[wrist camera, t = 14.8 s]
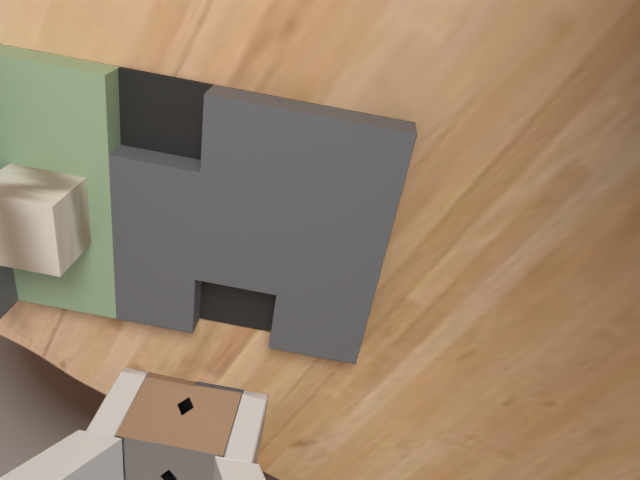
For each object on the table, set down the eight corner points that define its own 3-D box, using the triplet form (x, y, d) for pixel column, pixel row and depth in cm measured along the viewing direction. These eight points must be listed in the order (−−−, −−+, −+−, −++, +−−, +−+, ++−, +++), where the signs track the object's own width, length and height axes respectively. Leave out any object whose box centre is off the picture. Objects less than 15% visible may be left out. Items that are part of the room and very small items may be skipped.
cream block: (86, 177, 41) (52, 206, 37) (91, 242, 45) (60, 276, 40) (10, 163, 42) (-33, 191, 37) (20, 229, 45) (-18, 262, 40)
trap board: (415, 122, 39) (420, 152, 34) (356, 345, 51) (354, 393, 46) (-15, 41, 39) (-74, 59, 34) (23, 282, 51) (-17, 322, 46)
